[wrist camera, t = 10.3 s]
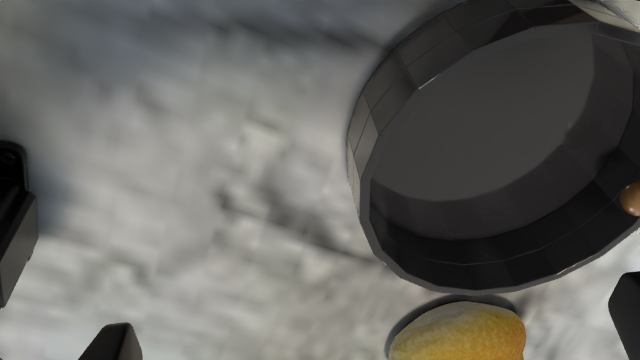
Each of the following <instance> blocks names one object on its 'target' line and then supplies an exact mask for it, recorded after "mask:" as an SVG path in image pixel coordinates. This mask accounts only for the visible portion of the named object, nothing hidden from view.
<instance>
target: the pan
mask: <svg viewBox="0 0 640 360" xmlns="http://www.w3.org/2000/svg"><path fill="white" fill-rule="evenodd" d="M347 162H348V176H349V180H350V185H351V189H352V193H353V197H354V201H355V205H356V209H357V213H358V217H359V221H360V224H361V226H362V228H363V231H364V233H365V235H366V238H367V240H368V242H369V244H370V247H371V249H372V251H373V253H374V255H375V256H377V257H378V258H379V259H380V260H381V261H382V262H383V263H384V264H385V265H386V266H388V267H389V268H390V269H391V270H392V271H393V272H394V273H395V274H396V275H397V276H399V277H400V278H402V279H404V280H407V281H409V282H412V283H414V284H417V285H419V286H421V287H424V288H426V289H429V290H431V291H434V292H442V293H451V294H459V295H468V296H479V295H488V294H497V293H507V292H515V291H519V290H522V289H526V288H529V287H532V286H535V285H539V284H542V283H545V282H549V281H552V280H555V279H558V278H561V277H563V276H565V275H567V274H569V273H570V272H572V271H574V270H576V269H578V268H580V267H582V266H584V265H586V264H588V263H590V262H592V261H594V260H596V259H598V258H600V257H601V256H603V255H604V254H606V253H607V252H608V251H609V250H611V249H612V248H613V247H615V246H616V245H617V244H619V243H620V242H621V241H623V240H624V239H625V238H626V237H628V236H629V235H630V234H632V233H633V232H634V231H636V230H637V229H638V228H639V227H640V216H633V215H631V214H629V213H627V212H626V211H625V210H624V209H623V207H622V205H621V203H620V194H621V191H622V189H623V188H624V187H625V186H626V185H627V184H629V183H631V182H633V181H636V180H640V29H638V28H637V27H635V26H634V25H632V24H630V23H629V22H627V21H626V20H624V19H622V18H621V17H619V16H618V15H616V14H614V13H613V12H611V11H609V10H608V9H606V8H605V7H603V6H601V5H600V4H598V3H595V2H591V1H588V0H471V1H468V2H465V3H462V4H460V5H458V6H456V7H454V8H452V9H450V10H448V11H445V12H443V13H441V14H439V15H438V16H436V17H435V18H433V19H432V20H430V21H428V22H427V23H425V24H424V25H422V26H421V27H419V28H418V29H417V30H415V31H414V32H413V33H412V34H410V35H409V36H408V37H407V38H405V39H404V40H403V41H402V42H401V43H400V44H399V45H398V46H397V47H396V48H395V49H394V50H393V51H392V52H391V53H390V54H389V55H388V56H387V57H386V58H385V59H384V61H383V62H382V63H381V64H380V66H379V67H378V68H377V69H376V71H375V72H374V73H373V75H372V76H371V78H370V79H369V81H368V83H367V84H366V86H365V88H364V89H363V91H362V93H361V95H360V97H359V100H358V102H357V104H356V106H355V109H354V112H353V115H352V119H351V122H350V126H349V131H348V138H347Z"/></svg>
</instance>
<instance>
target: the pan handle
mask: <svg viewBox="0 0 640 360" xmlns="http://www.w3.org/2000/svg"><path fill="white" fill-rule="evenodd" d="M620 203H621V205H622V207H623V209H624V210H625V211H626V212H627V213H629V214H631V215H633V216H640V180H636V181H633V182H631V183H629V184H627V185H626V186H625V187H624V188H623V189H622V191H621V194H620Z"/></svg>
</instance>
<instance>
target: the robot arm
mask: <svg viewBox="0 0 640 360" xmlns="http://www.w3.org/2000/svg"><path fill="white" fill-rule="evenodd" d="M6 153H10V154H12V155H14V156H15V158H12V157H9V156H8V155H7V154H6ZM37 240H38V220H37V202H36V196H35V195H34V193H33V192H32V191H29V183H28V169H27V155H26V151H25V150H24V149H23V147H22V146H20V145H18V144H16V143H13V142H8V141H1V140H0V310H1V309H2V308H4V307H5V306H6V304H7V302H8V300H9V298H10V296H11V293H12V291H13V289H14V287H15V285H16V283H17V281H18V279H19V277H20V275H21V273H22V271H23V269H24V267H25V264H26V262H28V261H29V260H30V258H31V256H32V253H33V248H34V246H35V244H36V242H37ZM608 308H609V313H610V315H611V318H612V320H613V322H614V325H615V327H616V329H617V332H618V334H619V336H620V339H621V341H622V344H623V346H624V348H625V351H626V353H627V355H628V358H629V360H640V271H638V272H628V273H625V274H623V275H622V276H621V278H620V279H619V281H618V283H617V285H616V287H615V289H614V291H613V293H612V295H611V297H610V299H609V302H608ZM0 360H2V359H1V358H0ZM78 360H143V357H142V350H141V347H140V345H139V342H138V339H137V337H136V334H135V332H134V329H133V327H132V325H131V324H130V323H116V324H108V325H106V326H105V327H103V328H102V329H101V331H100V332H99V333H98V334H97V336H96V337H95V338H94V340H93V341H92V342H91V344H90V345H89V346H88V347H87V349H86V350H85V351H84V353H83V354H82V355H81V356H80V358H79V359H78Z"/></svg>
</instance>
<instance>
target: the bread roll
mask: <svg viewBox="0 0 640 360" xmlns="http://www.w3.org/2000/svg"><path fill="white" fill-rule="evenodd" d="M525 342H526V332H525V327H524V324H523V323H522V321H521V319H520V318H519V317H518V316H517V315H516V314H515V313H514V312H512V311H510V310H508V309H505V308H500V307H498V306H493V305H488V304H482V303H475V302H468V301H462V302H455V303H450V304H445V305H442V306H439V307H436V308H434V309H432V310H430V311H428V312H426V313H424V314H422V315H421V316H419V317H418V318H417V319H415V320H414V321H413V322H411V323H410V324H409V325H408V326H406V327H405V328H404V329H403V330H402V331H401V332H400V333H399V334H398V335H397V336H395V338H394V339H393V341H392V344H391V346H390V350H389V354H388V360H524V359H523V354H522V352H523V350H524V347H525Z"/></svg>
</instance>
